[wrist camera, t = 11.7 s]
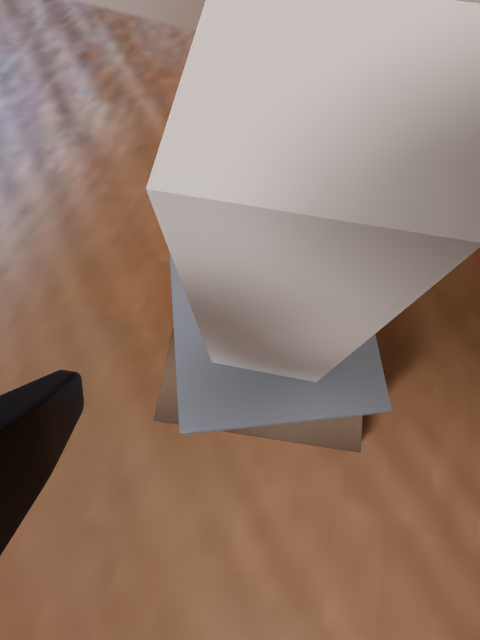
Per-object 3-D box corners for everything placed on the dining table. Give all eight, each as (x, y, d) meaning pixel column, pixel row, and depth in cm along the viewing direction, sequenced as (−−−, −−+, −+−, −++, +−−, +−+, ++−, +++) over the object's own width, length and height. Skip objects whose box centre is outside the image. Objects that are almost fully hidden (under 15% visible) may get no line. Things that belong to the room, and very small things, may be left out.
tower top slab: (372, 414, 18) (392, 410, 16) (187, 434, 18) (179, 433, 16) (339, 248, 21) (351, 224, 19) (177, 264, 21) (169, 241, 19)
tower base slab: (347, 450, 20) (360, 452, 18) (164, 422, 21) (153, 420, 19) (358, 279, 23) (370, 261, 21) (197, 258, 24) (191, 238, 21)
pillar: (316, 382, 16) (484, 243, 5) (211, 362, 17) (145, 188, 5) (328, 285, 18) (483, 3, 6) (232, 268, 18) (214, -30, 7)
